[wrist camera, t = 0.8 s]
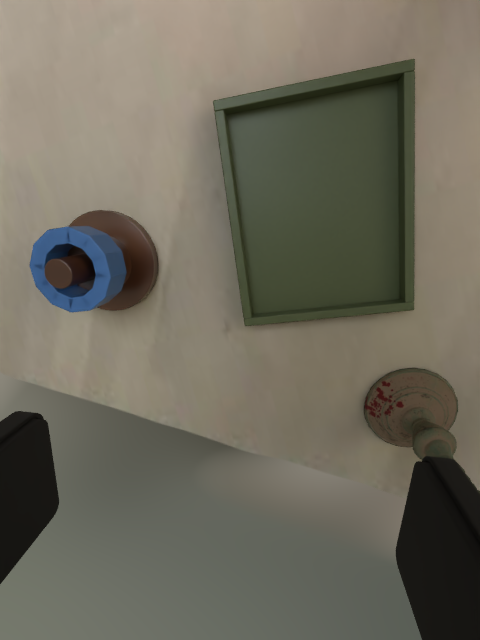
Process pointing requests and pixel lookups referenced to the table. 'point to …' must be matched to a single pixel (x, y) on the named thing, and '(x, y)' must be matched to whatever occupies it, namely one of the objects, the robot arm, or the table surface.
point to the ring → (99, 251)
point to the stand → (135, 254)
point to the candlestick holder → (414, 412)
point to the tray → (322, 194)
